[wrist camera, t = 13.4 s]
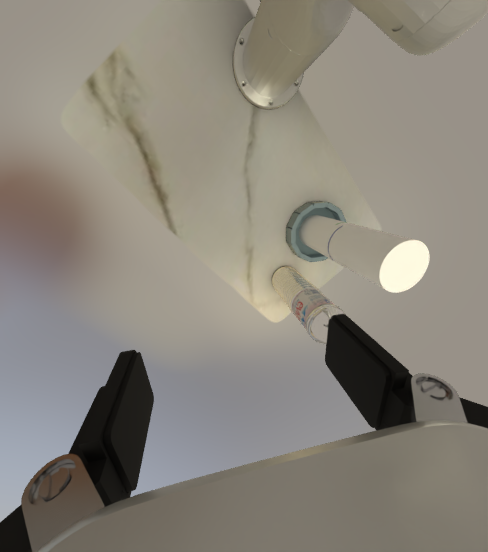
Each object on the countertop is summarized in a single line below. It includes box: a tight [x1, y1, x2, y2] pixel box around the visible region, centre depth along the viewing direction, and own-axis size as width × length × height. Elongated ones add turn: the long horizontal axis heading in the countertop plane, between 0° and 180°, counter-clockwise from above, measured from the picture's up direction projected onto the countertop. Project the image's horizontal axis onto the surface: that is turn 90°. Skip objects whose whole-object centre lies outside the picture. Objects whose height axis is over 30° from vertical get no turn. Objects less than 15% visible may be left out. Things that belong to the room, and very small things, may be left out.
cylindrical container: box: [299, 215, 429, 293], centre depth 41 cm, size 7×7×25 cm
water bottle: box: [272, 266, 346, 344], centre depth 45 cm, size 7×7×25 cm
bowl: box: [286, 201, 346, 262], centre depth 52 cm, size 13×13×3 cm
